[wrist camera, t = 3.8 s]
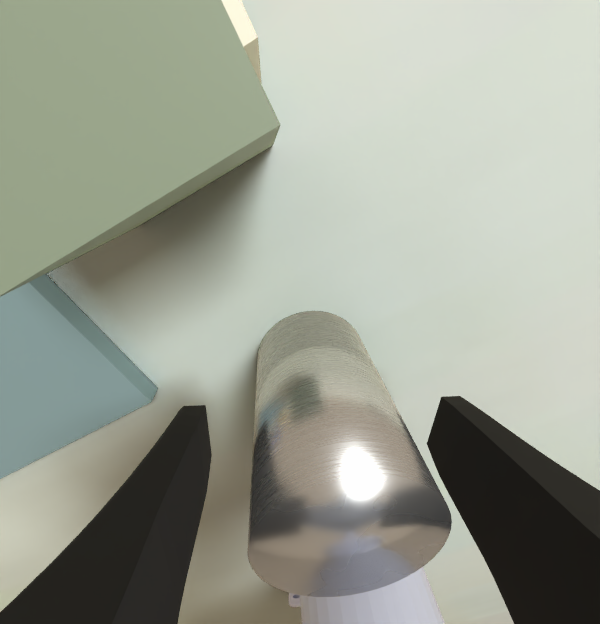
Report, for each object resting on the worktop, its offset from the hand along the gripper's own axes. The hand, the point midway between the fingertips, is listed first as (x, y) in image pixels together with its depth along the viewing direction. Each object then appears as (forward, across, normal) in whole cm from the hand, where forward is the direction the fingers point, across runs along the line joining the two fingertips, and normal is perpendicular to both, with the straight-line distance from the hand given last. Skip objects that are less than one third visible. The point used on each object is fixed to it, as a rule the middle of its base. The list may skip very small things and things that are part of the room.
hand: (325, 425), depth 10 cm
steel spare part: (+4, 0, 0) cm, 4 cm away
